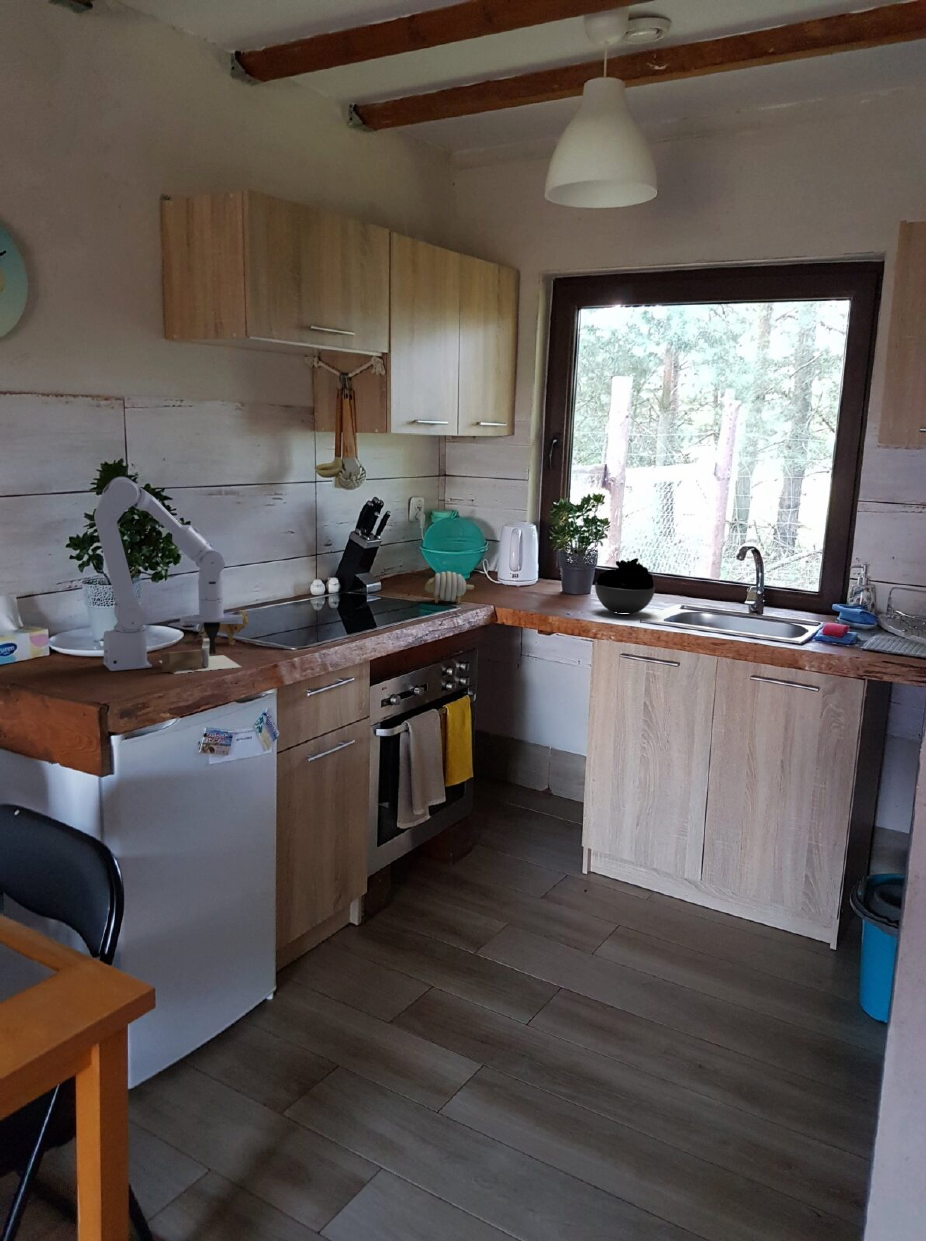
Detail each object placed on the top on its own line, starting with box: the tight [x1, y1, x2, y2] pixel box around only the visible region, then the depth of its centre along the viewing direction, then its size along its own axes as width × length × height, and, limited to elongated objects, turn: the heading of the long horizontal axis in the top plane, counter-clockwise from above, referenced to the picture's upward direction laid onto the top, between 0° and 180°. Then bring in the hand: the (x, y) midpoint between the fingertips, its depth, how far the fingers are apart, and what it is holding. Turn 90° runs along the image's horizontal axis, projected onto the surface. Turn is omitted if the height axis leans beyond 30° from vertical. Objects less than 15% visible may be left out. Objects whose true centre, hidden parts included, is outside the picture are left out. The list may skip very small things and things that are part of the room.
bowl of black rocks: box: [594, 557, 656, 614], centre depth 318 cm, size 20×20×19 cm
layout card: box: [159, 654, 243, 675], centre depth 228 cm, size 16×13×1 cm
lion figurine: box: [192, 609, 249, 646], centre depth 251 cm, size 15×5×9 cm, turn 89°
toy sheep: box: [424, 570, 475, 603], centre depth 325 cm, size 11×17×11 cm, turn 98°
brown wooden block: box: [161, 649, 202, 674], centre depth 221 cm, size 9×4×4 cm, turn 123°
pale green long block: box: [201, 638, 211, 667], centre depth 229 cm, size 12×2×4 cm, turn 13°
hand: (212, 653), depth 231 cm, fingers closed, pressing on pale green long block
